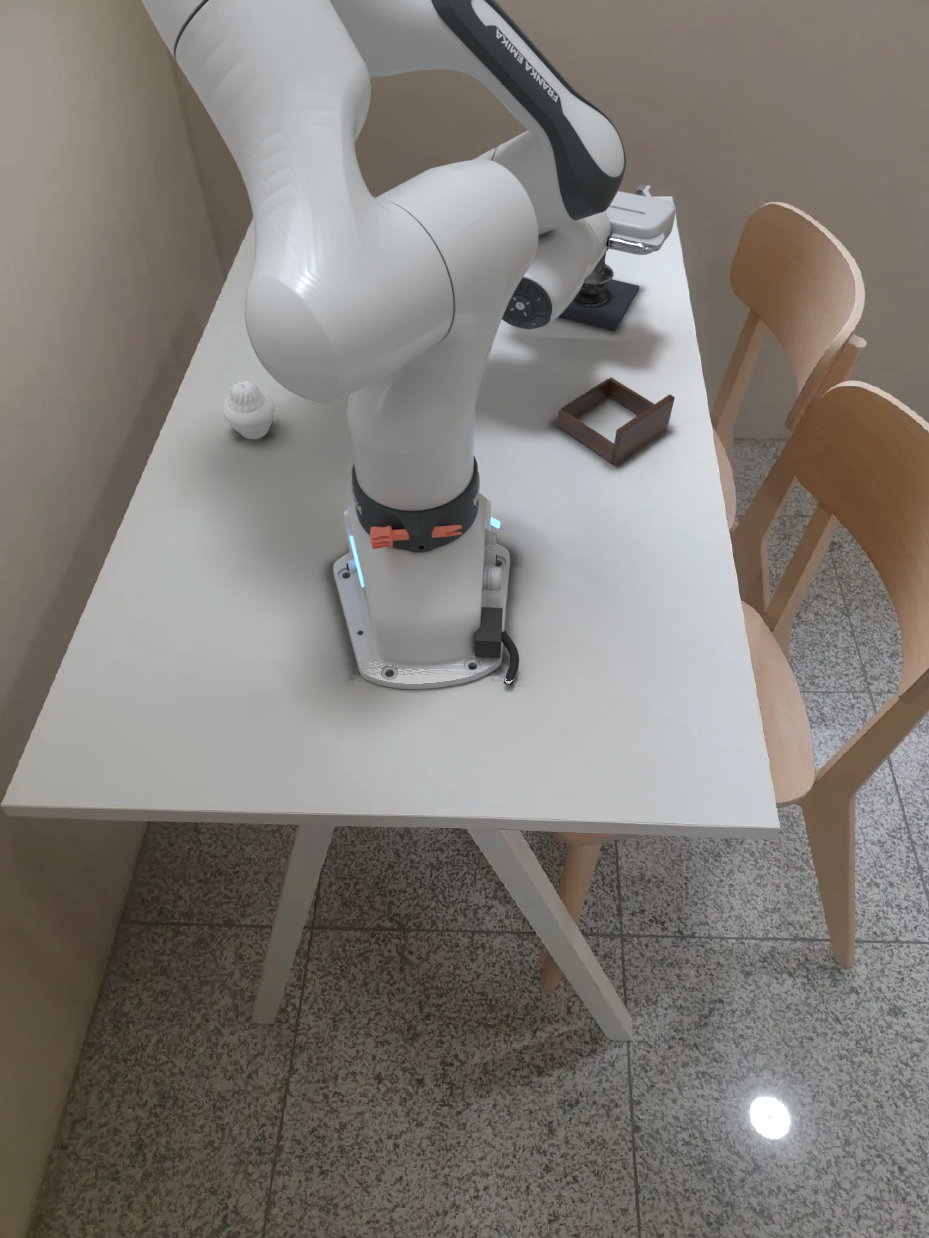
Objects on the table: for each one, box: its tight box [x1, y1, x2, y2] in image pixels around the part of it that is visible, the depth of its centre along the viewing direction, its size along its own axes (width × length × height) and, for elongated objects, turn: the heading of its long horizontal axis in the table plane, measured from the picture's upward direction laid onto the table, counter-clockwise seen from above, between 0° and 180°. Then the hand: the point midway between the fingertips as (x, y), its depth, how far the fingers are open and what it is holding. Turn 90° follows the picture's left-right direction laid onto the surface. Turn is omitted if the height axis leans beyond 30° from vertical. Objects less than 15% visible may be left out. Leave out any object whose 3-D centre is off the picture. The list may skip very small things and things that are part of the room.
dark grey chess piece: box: [573, 248, 615, 307], centre depth 114 cm, size 6×6×12 cm
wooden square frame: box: [556, 377, 676, 467], centre depth 101 cm, size 10×9×5 cm
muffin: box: [222, 380, 276, 441], centre depth 100 cm, size 6×6×7 cm
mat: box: [557, 278, 640, 331], centre depth 119 cm, size 11×11×1 cm
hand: (609, 183), depth 106 cm, fingers open, 8 cm apart
